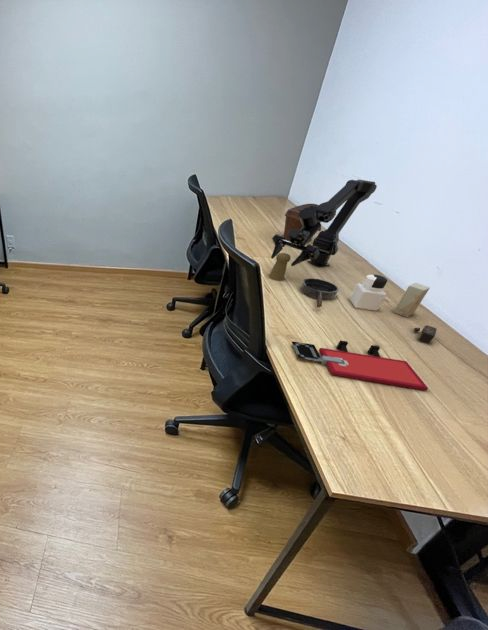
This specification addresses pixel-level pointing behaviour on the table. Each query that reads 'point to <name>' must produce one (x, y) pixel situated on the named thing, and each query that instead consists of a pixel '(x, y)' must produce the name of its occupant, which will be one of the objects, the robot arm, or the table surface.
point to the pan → (319, 288)
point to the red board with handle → (362, 365)
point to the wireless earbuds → (426, 333)
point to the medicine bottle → (369, 293)
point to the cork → (280, 266)
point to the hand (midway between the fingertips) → (281, 261)
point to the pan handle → (319, 299)
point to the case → (294, 219)
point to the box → (411, 299)
